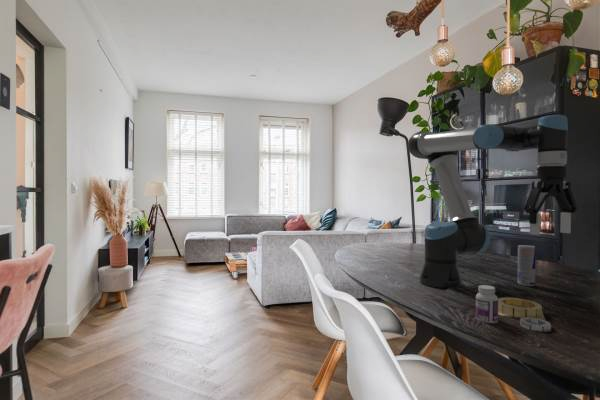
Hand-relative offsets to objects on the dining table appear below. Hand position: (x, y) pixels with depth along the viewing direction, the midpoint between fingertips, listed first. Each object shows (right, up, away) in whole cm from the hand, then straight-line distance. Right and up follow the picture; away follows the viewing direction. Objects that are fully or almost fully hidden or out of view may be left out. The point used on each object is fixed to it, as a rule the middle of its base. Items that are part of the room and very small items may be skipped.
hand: (550, 233), depth 111 cm
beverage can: (+8, -22, +24) cm, 33 cm away
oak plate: (-16, -22, -9) cm, 29 cm away
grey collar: (-18, -23, -20) cm, 36 cm away
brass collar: (-16, -22, -9) cm, 28 cm away
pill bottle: (-28, -23, -15) cm, 39 cm away
